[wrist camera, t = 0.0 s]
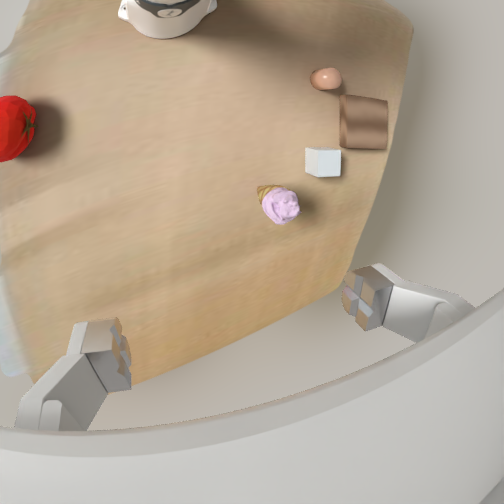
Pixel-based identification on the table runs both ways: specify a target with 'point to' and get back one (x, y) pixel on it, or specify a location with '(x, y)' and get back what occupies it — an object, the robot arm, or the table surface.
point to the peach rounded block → (326, 79)
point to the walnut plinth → (363, 122)
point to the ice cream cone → (278, 203)
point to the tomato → (15, 126)
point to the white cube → (323, 161)
